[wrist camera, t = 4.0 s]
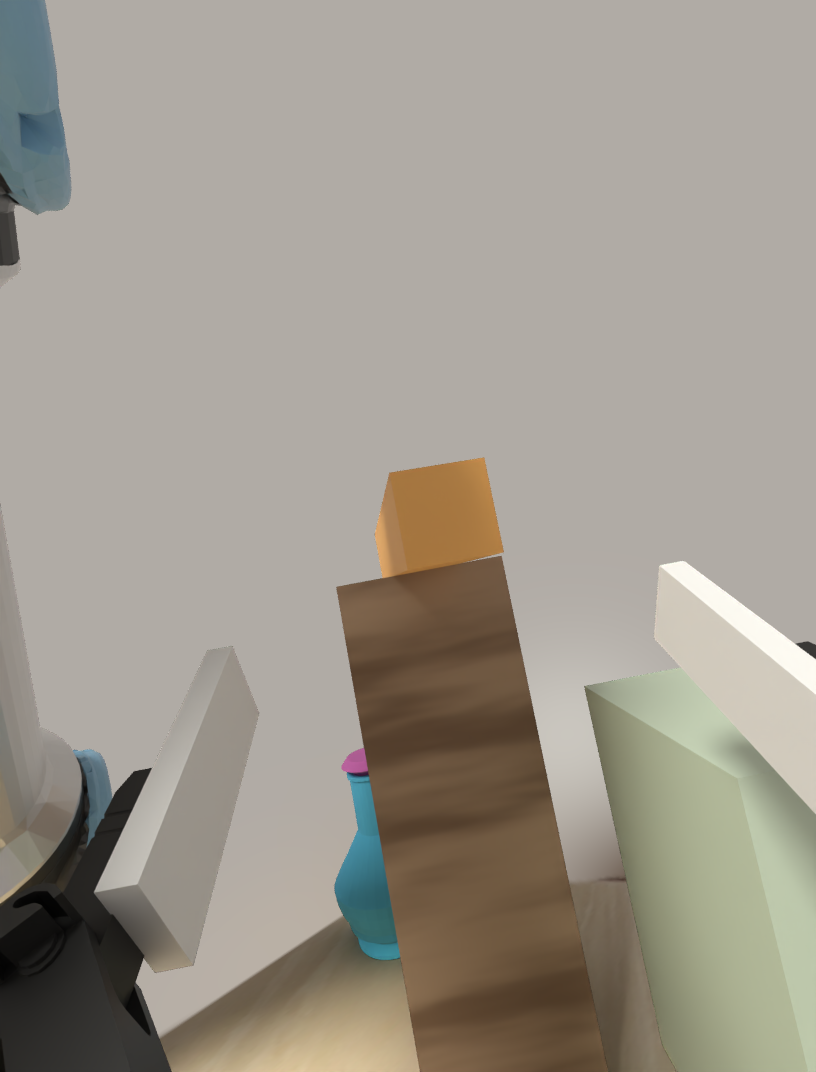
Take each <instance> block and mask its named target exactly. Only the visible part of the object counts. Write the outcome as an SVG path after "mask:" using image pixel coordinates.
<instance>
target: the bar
mask: <svg viewBox="0 0 816 1072" xmlns="http://www.w3.org/2000/svg"><path fill="white" fill-rule="evenodd" d="M375 538H376V543H377V549H378V555H379V560H380V566H381V571H382V577H383V578H386V577H392V576H397V575H402V574H408V573H413V572H418V571H424V570H429V569H434V568H439V567H445V566H450V565H455V564H460V563H464V562H468V561H472V560H475V559H479V558H483V557H487V556H491V555H495V554H499V553H502V552H504V551H503V546H502V541H501V537H500V531H499V527H498V522H497V517H496V513H495V507H494V502H493V498H492V493H491V488H490V483H489V478H488V474H487V469H486V464H485V459H484V458H478V459H472V460H466V461H459V462H453V463H447V464H441V465H435V466H428V467H422V468H416V469H410V470H404V471H397V472H392V473H389V477H388V481H387V485H386V490H385V494H384V498H383V502H382V506H381V511H380V515H379V519H378V523H377V528H376V532H375Z"/></svg>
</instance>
